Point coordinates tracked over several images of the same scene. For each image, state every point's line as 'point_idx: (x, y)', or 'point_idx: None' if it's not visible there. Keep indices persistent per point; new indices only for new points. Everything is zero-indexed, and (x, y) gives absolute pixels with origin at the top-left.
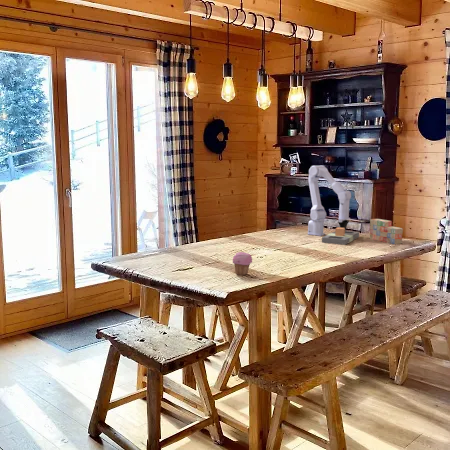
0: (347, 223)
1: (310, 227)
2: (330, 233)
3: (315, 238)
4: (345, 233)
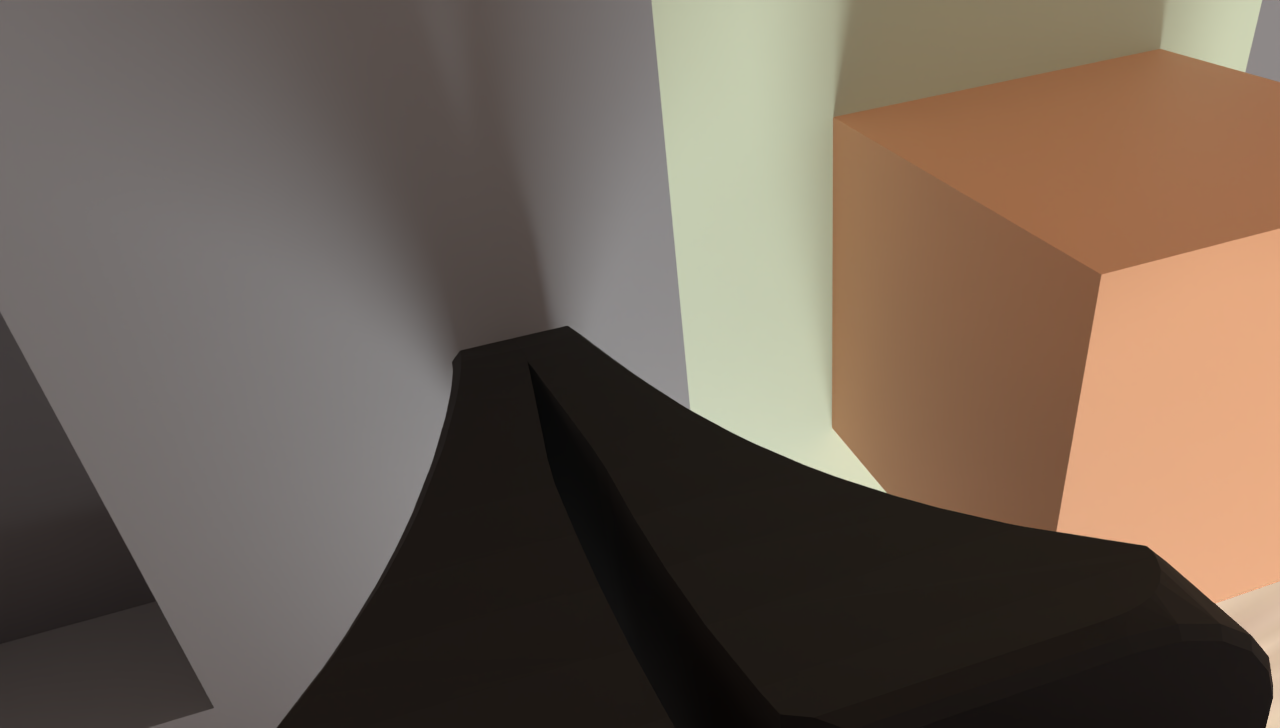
0: (493, 693)
1: None
2: None
3: None
4: (294, 348)
